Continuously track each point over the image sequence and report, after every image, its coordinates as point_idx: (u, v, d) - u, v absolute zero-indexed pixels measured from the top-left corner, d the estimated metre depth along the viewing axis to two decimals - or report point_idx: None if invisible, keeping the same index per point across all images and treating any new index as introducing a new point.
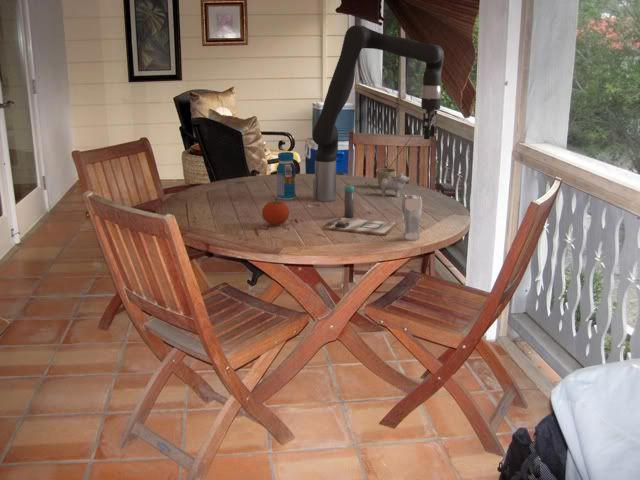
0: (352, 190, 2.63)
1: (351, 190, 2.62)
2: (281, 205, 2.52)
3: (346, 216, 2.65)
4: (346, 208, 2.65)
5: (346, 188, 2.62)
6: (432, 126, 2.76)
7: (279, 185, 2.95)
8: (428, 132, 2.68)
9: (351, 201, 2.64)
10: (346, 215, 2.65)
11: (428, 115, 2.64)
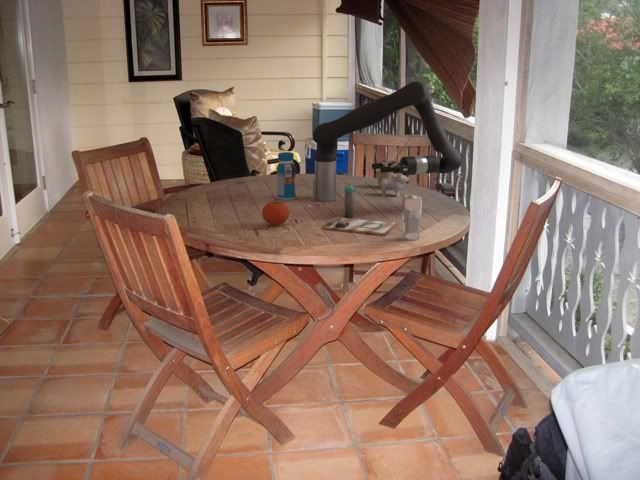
0: (352, 190, 2.63)
1: (351, 190, 2.62)
2: (281, 205, 2.52)
3: (346, 216, 2.65)
4: (346, 208, 2.65)
5: (346, 188, 2.62)
6: (381, 166, 2.70)
7: (279, 185, 2.95)
8: (387, 171, 2.62)
9: (351, 201, 2.64)
10: (346, 215, 2.65)
11: (406, 171, 2.62)
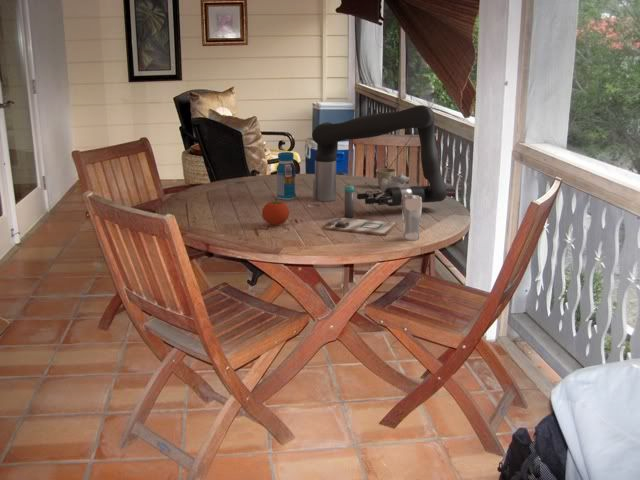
0: (352, 190, 2.63)
1: (351, 190, 2.62)
2: (281, 205, 2.52)
3: (346, 216, 2.65)
4: (346, 208, 2.65)
5: (346, 188, 2.62)
6: (367, 196, 2.72)
7: (279, 185, 2.95)
8: (372, 202, 2.63)
9: (351, 201, 2.64)
10: (346, 215, 2.65)
11: (390, 202, 2.64)
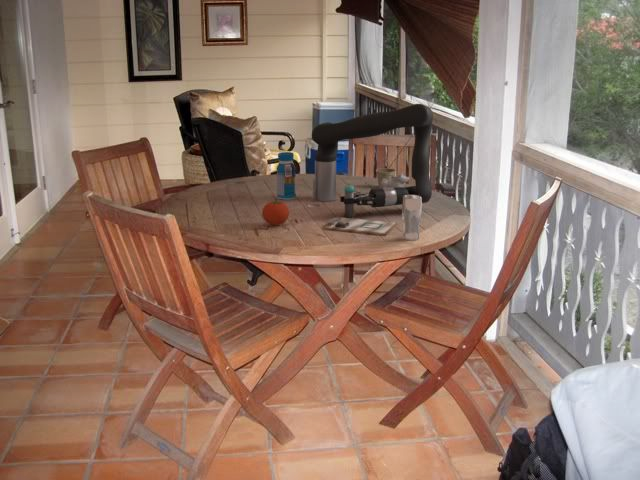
0: (352, 190, 2.63)
1: (351, 190, 2.62)
2: (281, 205, 2.52)
3: (346, 216, 2.65)
4: (346, 208, 2.65)
5: (346, 188, 2.62)
6: None
7: (279, 185, 2.95)
8: (351, 203, 2.63)
9: None
10: (346, 215, 2.65)
11: (370, 204, 2.61)
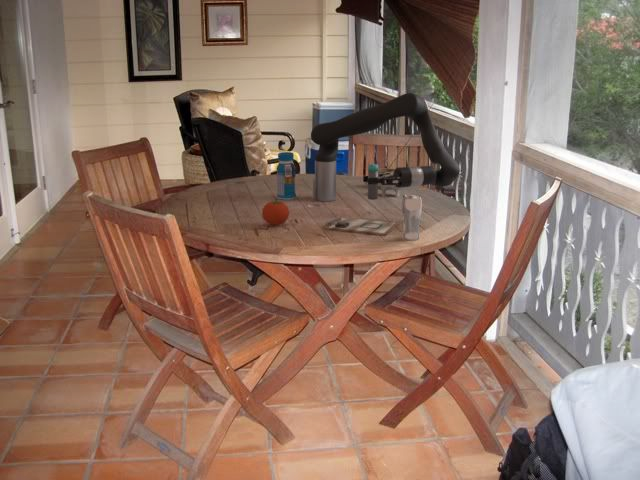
0: (376, 169, 2.44)
1: (375, 169, 2.44)
2: (281, 205, 2.52)
3: (370, 197, 2.47)
4: (370, 188, 2.46)
5: (370, 167, 2.44)
6: None
7: (279, 185, 2.95)
8: (375, 183, 2.44)
9: None
10: (370, 196, 2.47)
11: (395, 183, 2.43)
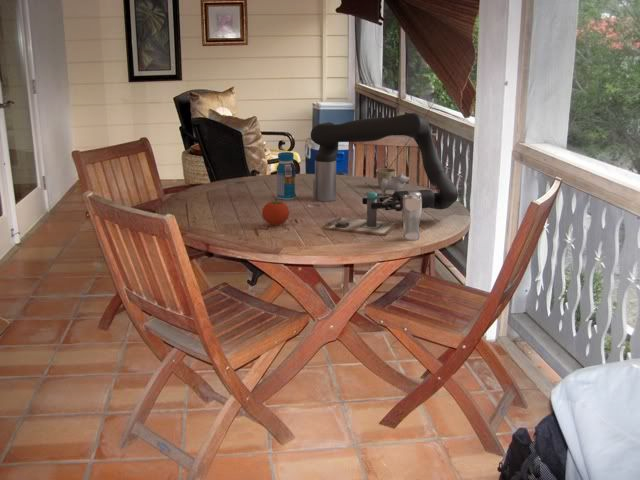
0: (375, 197, 2.47)
1: (374, 197, 2.47)
2: (281, 205, 2.52)
3: (369, 224, 2.50)
4: (369, 216, 2.49)
5: (369, 195, 2.47)
6: None
7: (279, 185, 2.95)
8: (379, 207, 2.45)
9: (374, 209, 2.48)
10: (369, 223, 2.50)
11: (398, 207, 2.45)
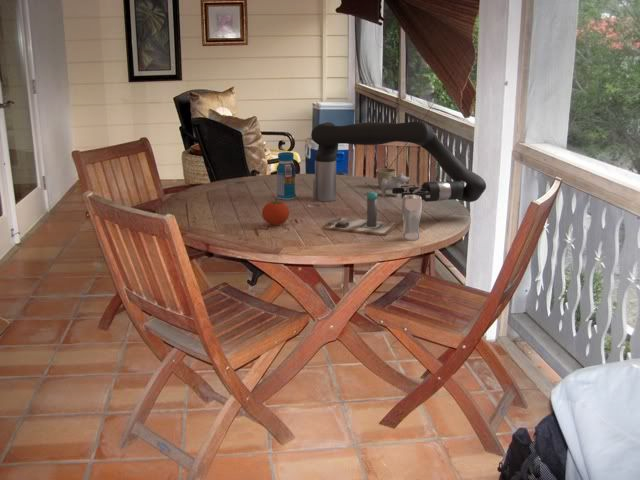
0: (375, 197, 2.47)
1: (374, 197, 2.47)
2: (281, 205, 2.52)
3: (369, 225, 2.50)
4: (369, 216, 2.49)
5: (369, 195, 2.47)
6: (402, 191, 2.58)
7: (279, 185, 2.95)
8: None
9: (374, 209, 2.48)
10: (369, 223, 2.50)
11: (428, 198, 2.50)
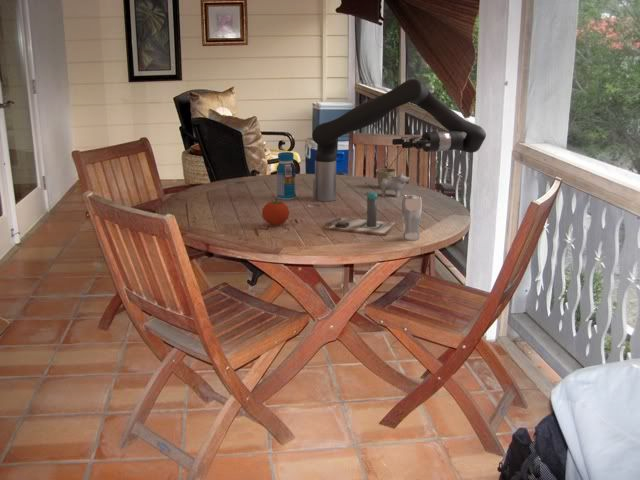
0: (375, 197, 2.47)
1: (374, 197, 2.47)
2: (281, 205, 2.52)
3: (369, 225, 2.50)
4: (369, 216, 2.49)
5: (369, 195, 2.47)
6: (402, 142, 2.58)
7: (279, 185, 2.95)
8: (409, 146, 2.49)
9: (374, 209, 2.48)
10: (369, 223, 2.50)
11: (428, 146, 2.50)
